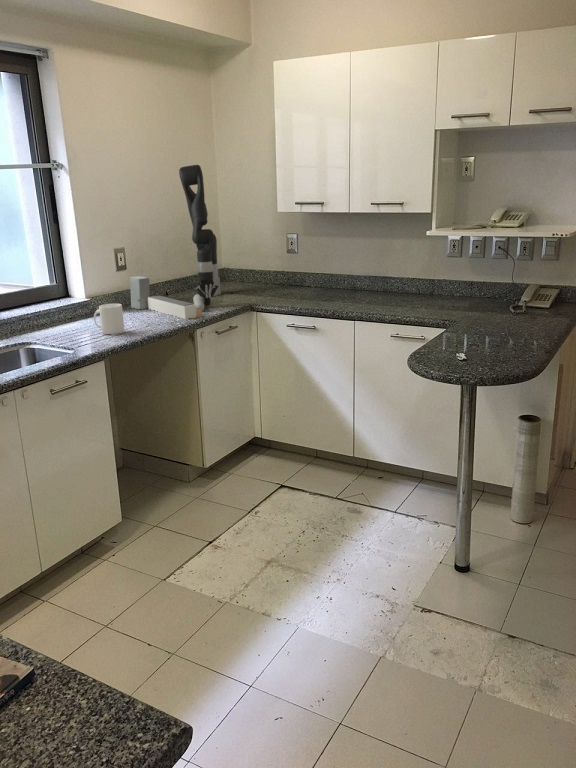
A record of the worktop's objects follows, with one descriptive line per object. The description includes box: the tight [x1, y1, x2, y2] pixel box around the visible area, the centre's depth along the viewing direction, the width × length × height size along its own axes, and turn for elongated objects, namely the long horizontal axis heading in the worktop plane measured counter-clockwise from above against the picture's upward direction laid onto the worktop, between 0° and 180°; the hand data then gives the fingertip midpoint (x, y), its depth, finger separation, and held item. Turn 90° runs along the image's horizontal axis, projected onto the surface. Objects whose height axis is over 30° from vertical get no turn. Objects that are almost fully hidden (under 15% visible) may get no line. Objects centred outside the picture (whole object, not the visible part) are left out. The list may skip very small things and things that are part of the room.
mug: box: [93, 303, 125, 335], centre depth 278 cm, size 10×12×12 cm
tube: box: [192, 293, 205, 313], centre depth 327 cm, size 5×5×25 cm
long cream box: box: [148, 294, 203, 320], centre depth 316 cm, size 9×36×6 cm, turn 39°
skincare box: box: [129, 275, 151, 310], centre depth 329 cm, size 8×7×16 cm
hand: (207, 305), depth 328 cm, fingers closed
